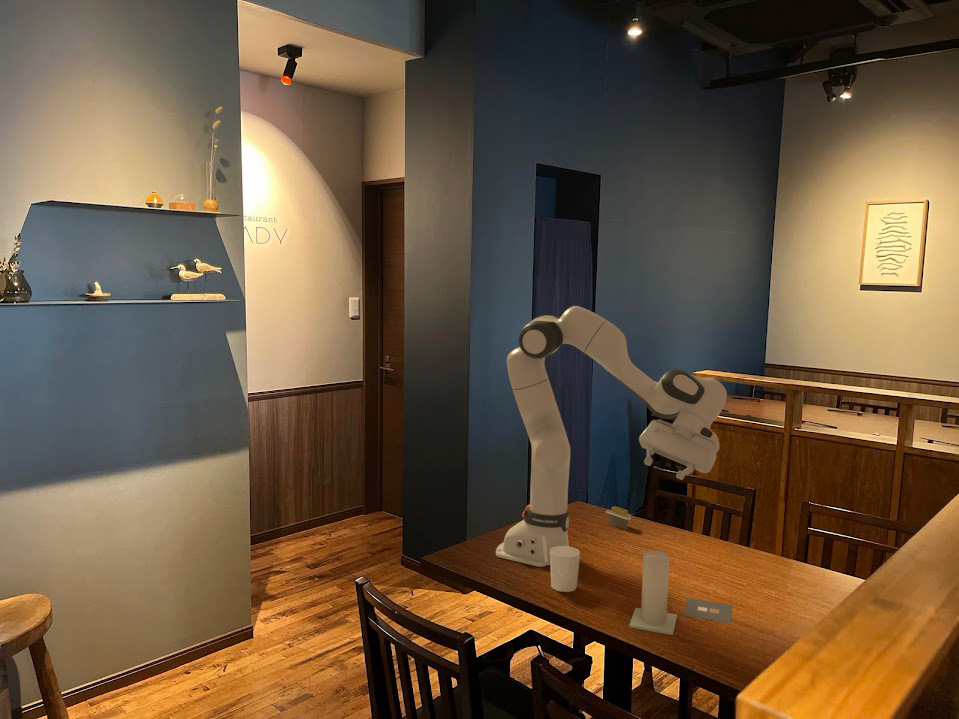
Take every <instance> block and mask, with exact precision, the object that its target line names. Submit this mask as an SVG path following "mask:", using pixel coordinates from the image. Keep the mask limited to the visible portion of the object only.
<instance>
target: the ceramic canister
mask: <svg viewBox="0 0 959 719" xmlns="http://www.w3.org/2000/svg"><path fill="white" fill-rule="evenodd" d="M642 559H643V560H642V579H641V580H642V582H641V583H642V584H641V603H640V604H641V605H640V607H641V620H642V621H643V622H645V623H647V624H650V625H663V624H665V623H666V622H667V613H668V596H669V578H670V577H669V576H670V575H669V574H670V571H669V570H670V554H668V553H666V552H665V551H660V550H647V551H645V552H643V555H642Z"/></svg>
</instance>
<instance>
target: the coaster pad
mask: <svg viewBox="0 0 959 719" xmlns="http://www.w3.org/2000/svg"><path fill="white" fill-rule="evenodd" d="M677 618H678V614H677V613H671V612H667V622H666V623H665V624H663V625H650V624H647V623H645V622H643V621H642V620H641V608H639V607H635V608H634V611H633V613H632V617H631V619H630V621H629V622H630V623H629V625H628V627H629V628H631V629H636V630H643V631H645V632H646V631H648V632H652V633H653V632H654V633H659V634H664V635H671V636H673V635H674V631H675V626H676V623H677Z"/></svg>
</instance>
